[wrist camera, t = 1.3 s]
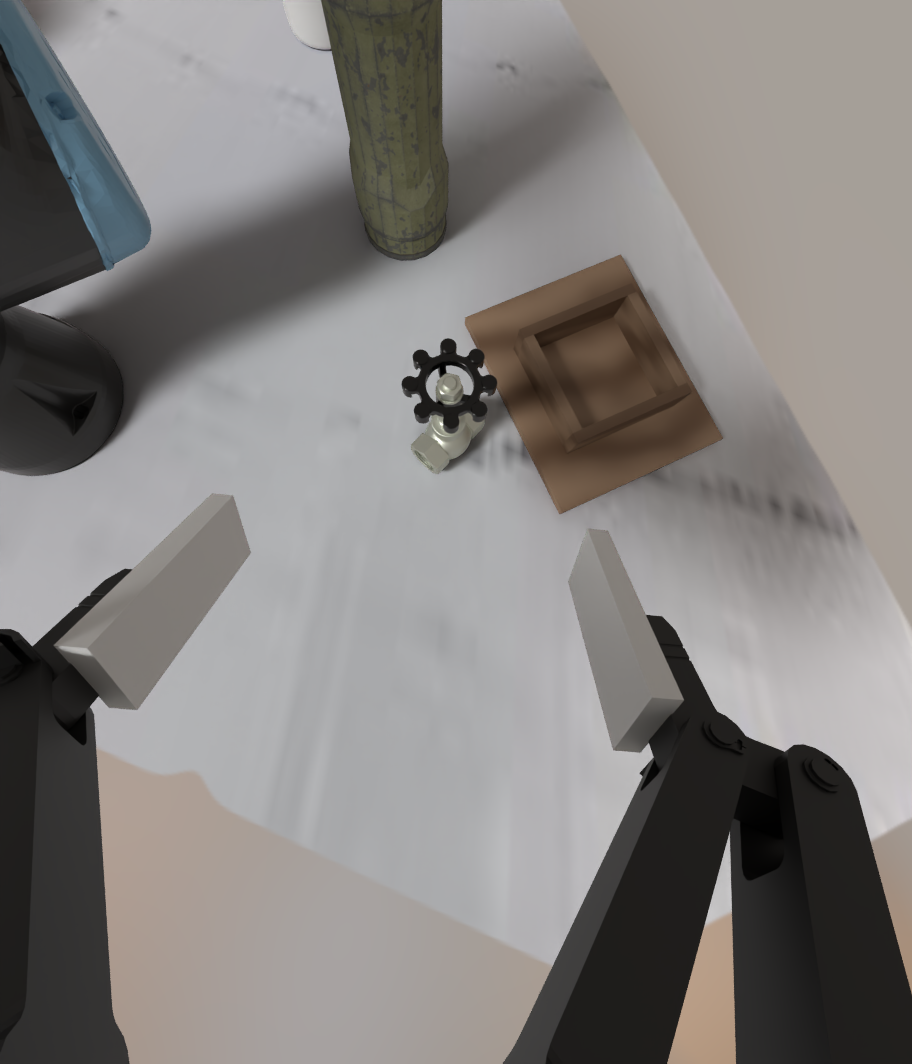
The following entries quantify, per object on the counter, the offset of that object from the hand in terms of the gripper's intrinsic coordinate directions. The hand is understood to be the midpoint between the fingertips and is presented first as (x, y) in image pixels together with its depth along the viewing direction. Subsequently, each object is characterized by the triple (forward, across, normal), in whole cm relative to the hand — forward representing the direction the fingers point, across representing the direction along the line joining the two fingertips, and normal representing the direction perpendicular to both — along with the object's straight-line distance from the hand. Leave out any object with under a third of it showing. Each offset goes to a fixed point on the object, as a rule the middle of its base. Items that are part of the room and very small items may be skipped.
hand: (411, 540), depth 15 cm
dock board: (+30, +14, -1) cm, 33 cm away
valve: (+24, 0, -7) cm, 25 cm away
